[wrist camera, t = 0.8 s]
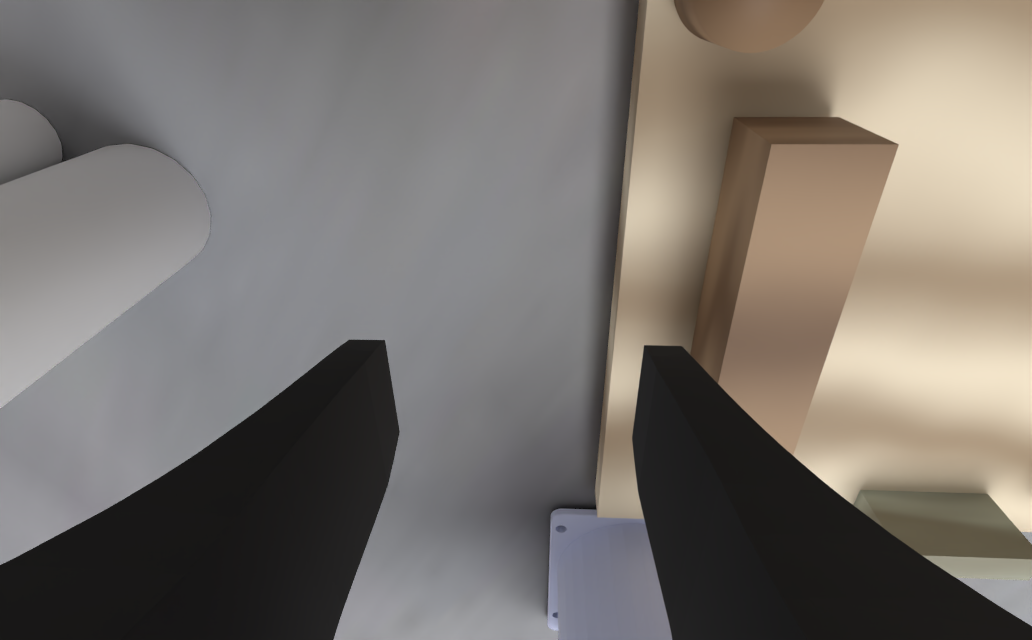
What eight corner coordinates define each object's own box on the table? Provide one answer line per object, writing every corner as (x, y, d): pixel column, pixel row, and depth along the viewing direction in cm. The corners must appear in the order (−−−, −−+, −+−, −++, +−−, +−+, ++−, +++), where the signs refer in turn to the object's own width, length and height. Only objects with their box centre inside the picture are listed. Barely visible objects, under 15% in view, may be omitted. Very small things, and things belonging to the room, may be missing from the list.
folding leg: (750, 434, 21) (778, 497, 18) (675, 432, 21) (693, 494, 19) (839, 116, 15) (899, 144, 12) (733, 117, 15) (771, 144, 13)
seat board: (1096, 506, 24) (1241, 644, 19) (594, 490, 26) (606, 617, 20) (1594, -131, 13) (2269, -205, 8) (649, -111, 14) (706, -165, 9)
